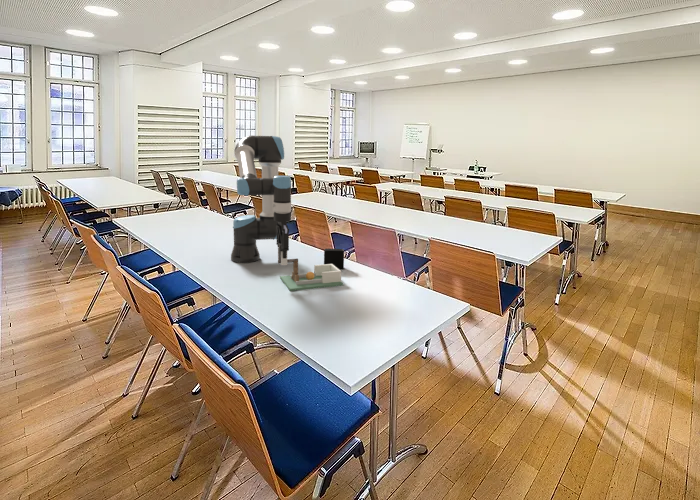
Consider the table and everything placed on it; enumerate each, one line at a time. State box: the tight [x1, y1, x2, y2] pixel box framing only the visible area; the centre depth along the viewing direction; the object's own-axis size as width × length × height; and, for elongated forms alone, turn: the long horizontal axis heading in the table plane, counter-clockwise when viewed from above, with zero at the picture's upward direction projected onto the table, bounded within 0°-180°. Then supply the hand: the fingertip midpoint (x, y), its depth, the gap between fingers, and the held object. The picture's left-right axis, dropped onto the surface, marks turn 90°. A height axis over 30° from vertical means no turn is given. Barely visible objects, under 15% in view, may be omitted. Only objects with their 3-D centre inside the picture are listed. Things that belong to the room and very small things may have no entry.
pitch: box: [279, 263, 344, 292], centre depth 204 cm, size 18×25×6 cm
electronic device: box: [323, 248, 345, 271], centre depth 225 cm, size 4×10×10 cm, turn 95°
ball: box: [305, 271, 314, 280], centre depth 204 cm, size 4×4×4 cm
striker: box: [277, 243, 299, 282], centre depth 198 cm, size 6×9×18 cm, turn 113°
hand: (282, 263), depth 197 cm, fingers open, 5 cm apart
